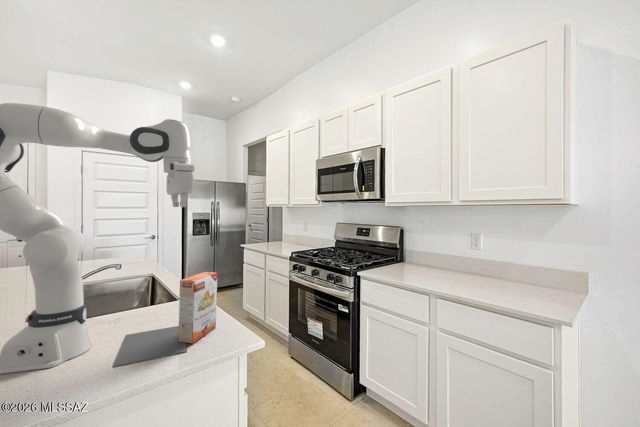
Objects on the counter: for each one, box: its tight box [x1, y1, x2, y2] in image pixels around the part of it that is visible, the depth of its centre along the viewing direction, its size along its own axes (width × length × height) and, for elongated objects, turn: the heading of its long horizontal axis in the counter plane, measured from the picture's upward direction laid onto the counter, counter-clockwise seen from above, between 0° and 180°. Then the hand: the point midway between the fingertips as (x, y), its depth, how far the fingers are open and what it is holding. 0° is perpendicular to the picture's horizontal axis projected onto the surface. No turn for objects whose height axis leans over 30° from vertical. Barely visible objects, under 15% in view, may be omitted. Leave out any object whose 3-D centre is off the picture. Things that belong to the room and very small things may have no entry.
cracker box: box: [178, 271, 218, 345], centre depth 101 cm, size 14×6×21 cm, turn 168°
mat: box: [112, 325, 188, 368], centre depth 95 cm, size 19×22×1 cm
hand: (179, 207), depth 101 cm, fingers open, 8 cm apart
